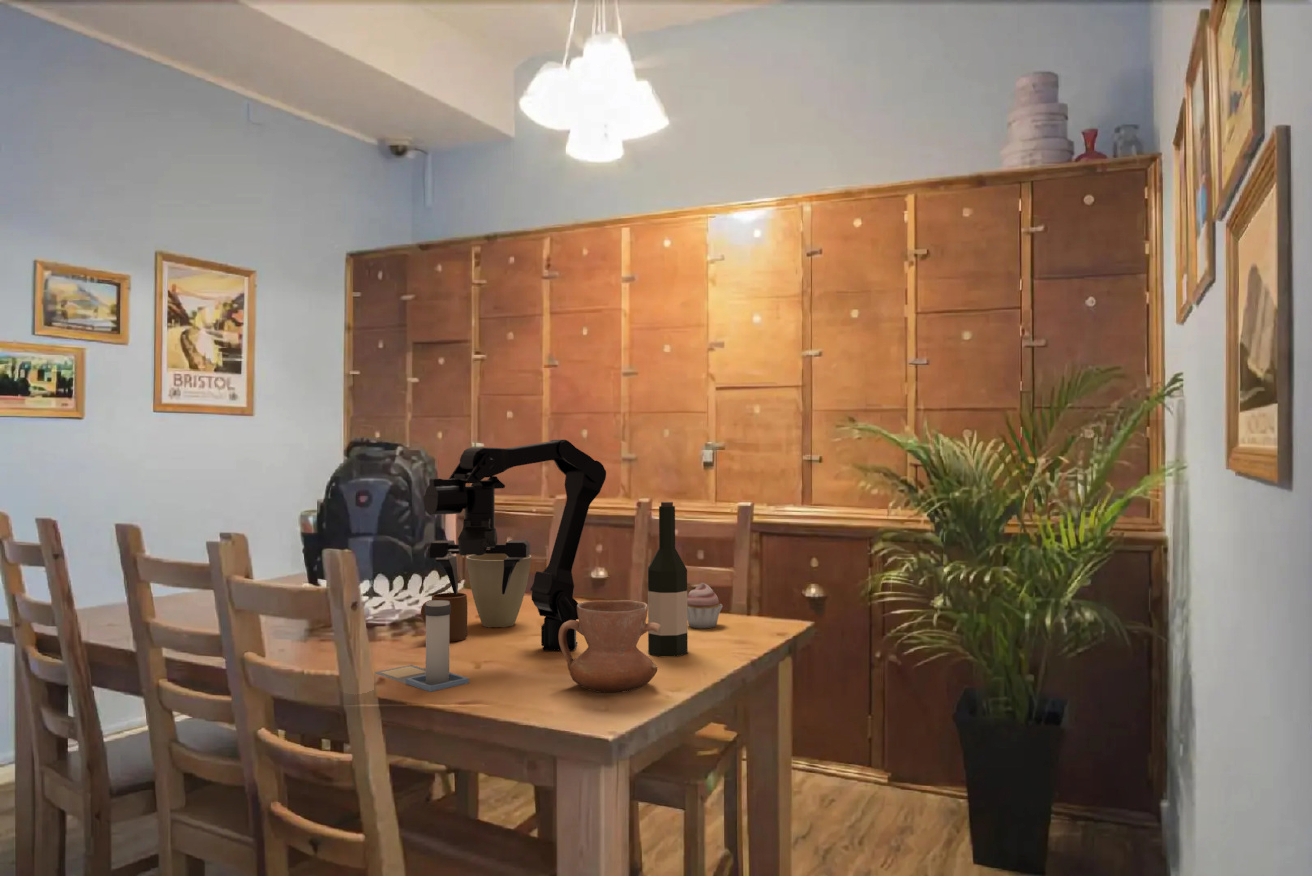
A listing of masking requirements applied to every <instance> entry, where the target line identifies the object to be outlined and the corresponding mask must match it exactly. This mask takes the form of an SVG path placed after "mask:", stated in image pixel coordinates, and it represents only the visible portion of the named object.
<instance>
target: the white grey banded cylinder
mask: <svg viewBox="0 0 1312 876" xmlns="http://www.w3.org/2000/svg"><path fill="white" fill-rule="evenodd" d="M427 601H428V602H427ZM427 601H425V602H426V604H425V615H426V623H425V669H426V684H428V685H431V686H432V685H436V684H441V683H445V682H449V672H450V642H449V626H450V614H451V604H450V601H446V600H434V601H429V600H427Z"/></svg>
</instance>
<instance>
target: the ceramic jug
mask: <svg viewBox="0 0 1312 876" xmlns="http://www.w3.org/2000/svg"><path fill="white" fill-rule="evenodd" d="M577 614H578V619H577V620H569V621H567V622H565V623H563V624H562V626H561V627H560V630H559V637H558V638H559V645H560V648H561V650H560V651H561V652H562V654H563V656H564V658H565V660H566V665H567V669H568V671H569V675H570V678H571V679H572V681H573V682H575V683H576V684H577V685H579V686H580V687H581V688H584V689H585V690H588V691H591V692H592V691H593V692H597V693H604V694H617V693H619V694H620V693H626V692H631V691H634V690H637V689H640V688H642V687H644V686H645V685H647V684H648V683H650V682H651V680H652V679H653V678H654V677H655V675H656V674H657V672H658V669H659V667H658V666H657V665H656V664H655V663H654V661H653V659H651V657H649V656H648V655H647V654H645V653H644V652H642V650H641V649H639V648H638V647H637V645H638V642H639V640H640V638H641V637H642V636H643V635H644V634H646V633H648V631H651V630H652V631H655V632H657V633H658V630H659V629H660V628H661V626H660V625H659V624H657V623H653V622H651V623H648V622H647V619H648V603H646V602H643V601H635V600H629V599H620V600H605V599H604V600H591V601H590V600H587V601H583V602H579V603H578V604H577ZM646 622H647V623H646ZM570 628H571V629H574V630H576V632H578V633H579V634H580V635H582V636H583V637H584V639H585V641H586V643H587V647H586V649H585V651H583V652H582V653H581V654H579V655H578V656H577V657H576V658H575V659H574V658H573V657H572V654H571V652H570V651H571V650H569V649H568V646H567V640H566V633H567V631H568V629H570Z"/></svg>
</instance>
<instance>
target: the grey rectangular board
mask: <svg viewBox="0 0 1312 876" xmlns="http://www.w3.org/2000/svg"><path fill="white" fill-rule="evenodd" d="M374 672H375V673H374V674H375V675H377V676H378V675H379V676H382V677H384V678H387V679H391V680H394V681H396V682H399V683H401V684H405V685H407V686H411V687H414V688H417V689H420V690H423V691H426V692H429V693H431V692H436V691H440V690H444V689H449V688H454V687H458V686H463V685H466V684H467V685H468V684H470V677H466V676H464V675H460V674H456V673H453V672H450V671H449V682H445V683H441V684H436V685H432V686H431V685H428V684H426V668H423V667H420V666H417V665H413V664H409V665H405V666H400V667H399V666H398V667H394V668H390V669H385V670H384V669H383V670H380V671H374Z"/></svg>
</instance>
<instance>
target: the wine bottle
mask: <svg viewBox="0 0 1312 876" xmlns="http://www.w3.org/2000/svg"><path fill="white" fill-rule="evenodd" d="M658 531H659V532H658V548H657V550H656V552H655V554H654V557H653V558H652V560H651V562H650V563H649V564H648V566H647V605H648V612H647V623H651V622H653V623H657V624H659V625H660V626H661V628H660V629H659V630H658V633H657V632H655V631H652V630H651V631H647V634H648V635H647V636H648V637H647V638H648V639H647V642H648V643H647V644H648V647H647V648H648V655H650V656H655V657H659V656H677V657H680V656H684V655H685V656H686V655H688V654H689V653H688V651H689V650H688V641H689V640H688V639H689V638H688V620H687V598H688V568H687V567H686V565H685V563H684V562H683V560H682V558H681V556H680V554H679V552H678V550H677V549H676V506H675V505H674V502H673V501H661V502H660V505H659V506H658Z"/></svg>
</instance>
